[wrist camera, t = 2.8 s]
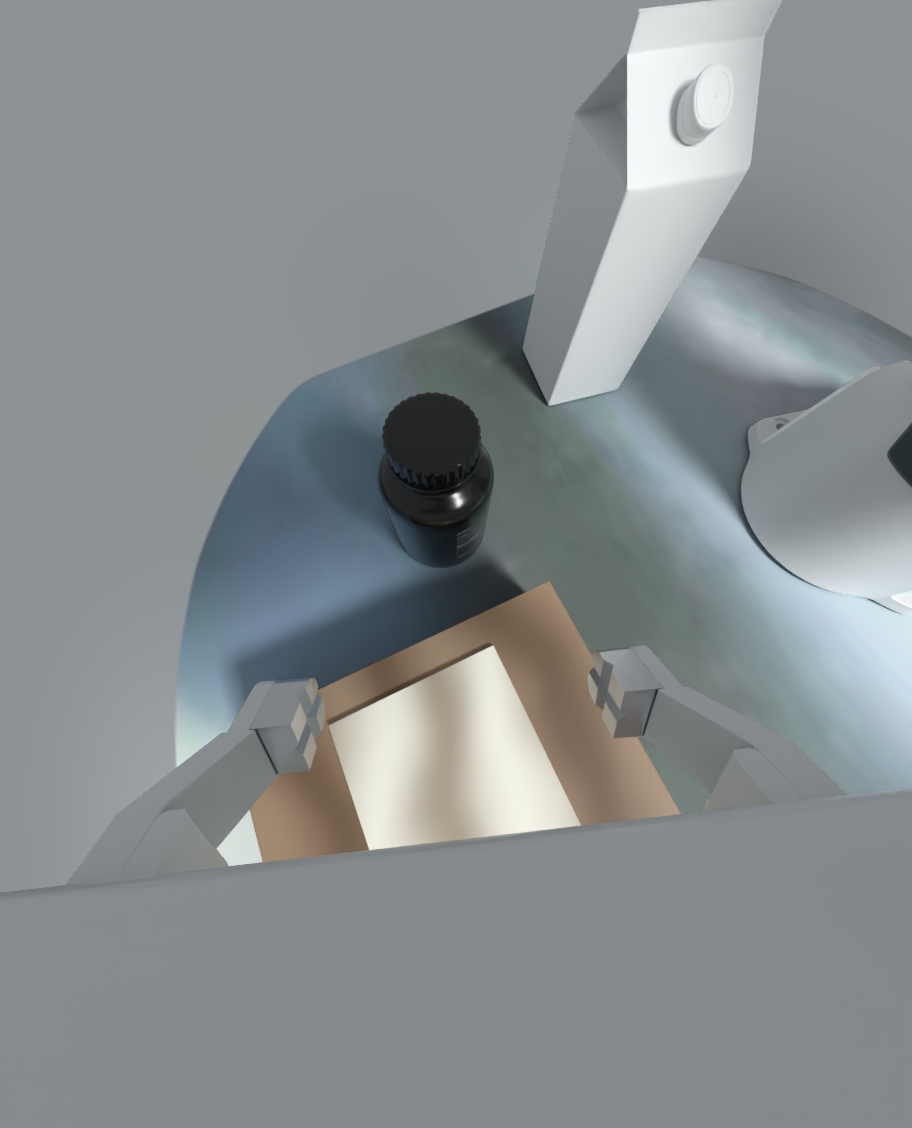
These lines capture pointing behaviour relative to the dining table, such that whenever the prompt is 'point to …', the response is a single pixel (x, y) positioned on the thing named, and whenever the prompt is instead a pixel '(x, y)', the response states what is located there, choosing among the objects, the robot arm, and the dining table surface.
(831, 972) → the robot arm
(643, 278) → the milk carton
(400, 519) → the supplement bottle
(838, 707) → the dining table surface
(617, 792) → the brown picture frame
